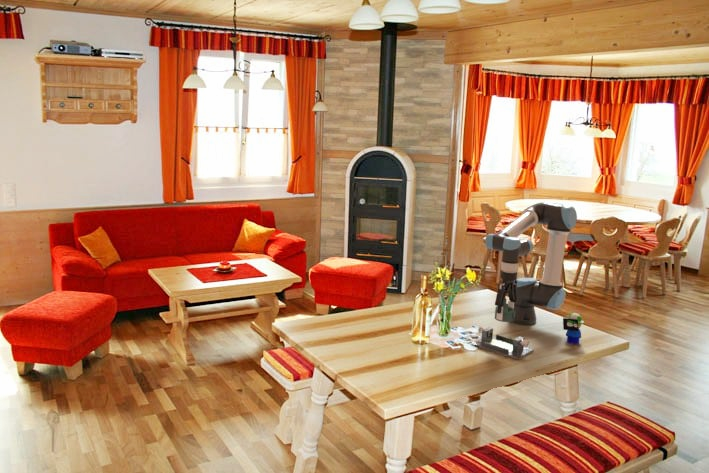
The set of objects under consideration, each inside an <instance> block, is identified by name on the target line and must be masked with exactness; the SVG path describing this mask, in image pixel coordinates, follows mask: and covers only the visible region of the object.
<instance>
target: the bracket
mask: <svg viewBox="0 0 709 473" xmlns="http://www.w3.org/2000/svg"><path fill="white" fill-rule="evenodd" d="M496 316H497V306H495V311H494V320H496V321H498V322H500V323H501V322H502V323H512V322H511V321H513V318H515V311H514V309H513V308H511V307H508V302H507V298H506V297H505V300H504V303H503V318H502V321H501V320H498V319H496Z"/></svg>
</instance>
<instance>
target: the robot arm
mask: <svg viewBox="0 0 709 473" xmlns="http://www.w3.org/2000/svg"><path fill="white" fill-rule="evenodd" d="M577 219H578V214H577V211H576V209H575V207H574V206H572V205H569V204H562V203H554V202H547V201H542V202H538V203H535V204H532V205H530V206H528V207H527V208H525V209H524V210H522V212H521V214H520V215H519V216H518V217H516V218H515V219H514V220H512V221H511V222H510V223H508V224H507V225H506V226H505V227H503V228H502V229H501V230H500V231H498V232H497V233H496V234H495V233H488V234H487V235H486V237H485V239H484V246H485V247H486V248H487V249H490V250H492V251H497V252H501V253H502V255H501V257H502V258H501V262H500V264H501V268H500V269H501V270H500V274H499V278H500V279H501V280H502V282H501V283H499V284H498V285H497V292H496V296H495V301H494V306H495V307H497V316H496V319H498V320H501V321H502V318H503V303H504V300H505V298H506V297H507V295H508V299H509V300H508V301H507V304H508V307H511V308H513V309H514V311H515V318H513V321H511V322H510V323H513V324H517V325H524V326H525V325H527V326H529V325H534V324H536V323H537V314H536V311H535V310H536V309H535V306H538V307H542V308H544V309H548V310H553V311H555V310H559V309H560V308H561V306H562V305H563V304H564V301H565V299H566V295H567V292H566V289H564V288H563V283H562V281H561V278H562V277H561V276H562V269H563V262H564V256H565V250H566V249H565V248H566V243H567V236H568V235H569V234H570V233H571V231H572V230H574V229H575V227H576V225H577V222H578V220H577ZM536 225H544V226H546V230H547V231H548V240H547V247H546V253H545V258H544V259H545V260H544V261H545V262H544V267H543V274H542V275H543V276H542V278H541V279H539V281H538V280H537V278H535V277H519V278H518V270H519V260H520V257H522V256H527V255H529V254H530V253H532V252H533V250H534V243H533V241H532V240H531V239H530V238H519V236H521V235H522V234H523V233H525V232H526V231H527V230H529V228H531V227H535V226H536ZM496 319H495V320H496ZM498 320H497V321H498ZM501 321H500V322H501Z"/></svg>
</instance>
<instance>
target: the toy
mask: <svg viewBox="0 0 709 473" xmlns="http://www.w3.org/2000/svg"><path fill="white" fill-rule="evenodd" d="M584 323H585V321H584V320H583V319H582V316H581V315H580V314H579V313H576V312H572V313H571V314H569V316H568V317H563V318H562V324H563V325H562V326H563V328H562V329H563V330H564V331H565V330H566V333H565V336H566V337H567V338H566V342H567V343H571V344H574V345H579V344H580V339H581V338H582V331H581V327H582V324H584Z"/></svg>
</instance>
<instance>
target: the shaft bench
mask: <svg viewBox="0 0 709 473" xmlns="http://www.w3.org/2000/svg"><path fill="white" fill-rule="evenodd" d="M477 332H478V333H480V334H481V337H480V338H479V337H478V339H475V340H473V341H474V342H476V344H477V346H478V348H480V349H484V350H487V351H489V352H493V353H496V354H499V355H502V356H505V357H508V358H510V359H514V360H517V361H518V360H519V361H520V360H521V359H523V358H524V357H526V356H528V355H530V354H532V353H534V352H535V351H534V350H535V349H534V348H531V347H528V346H529V341H528V340H525V337H523V336H518V337H516V338H512V337H509V336H505V335H502V334H498V333H497V334H496V335H495V336H494V327H491V326H488V327H486V328H484V327H482V326H479V327H478V330H477ZM477 346H476V347H477Z"/></svg>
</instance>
